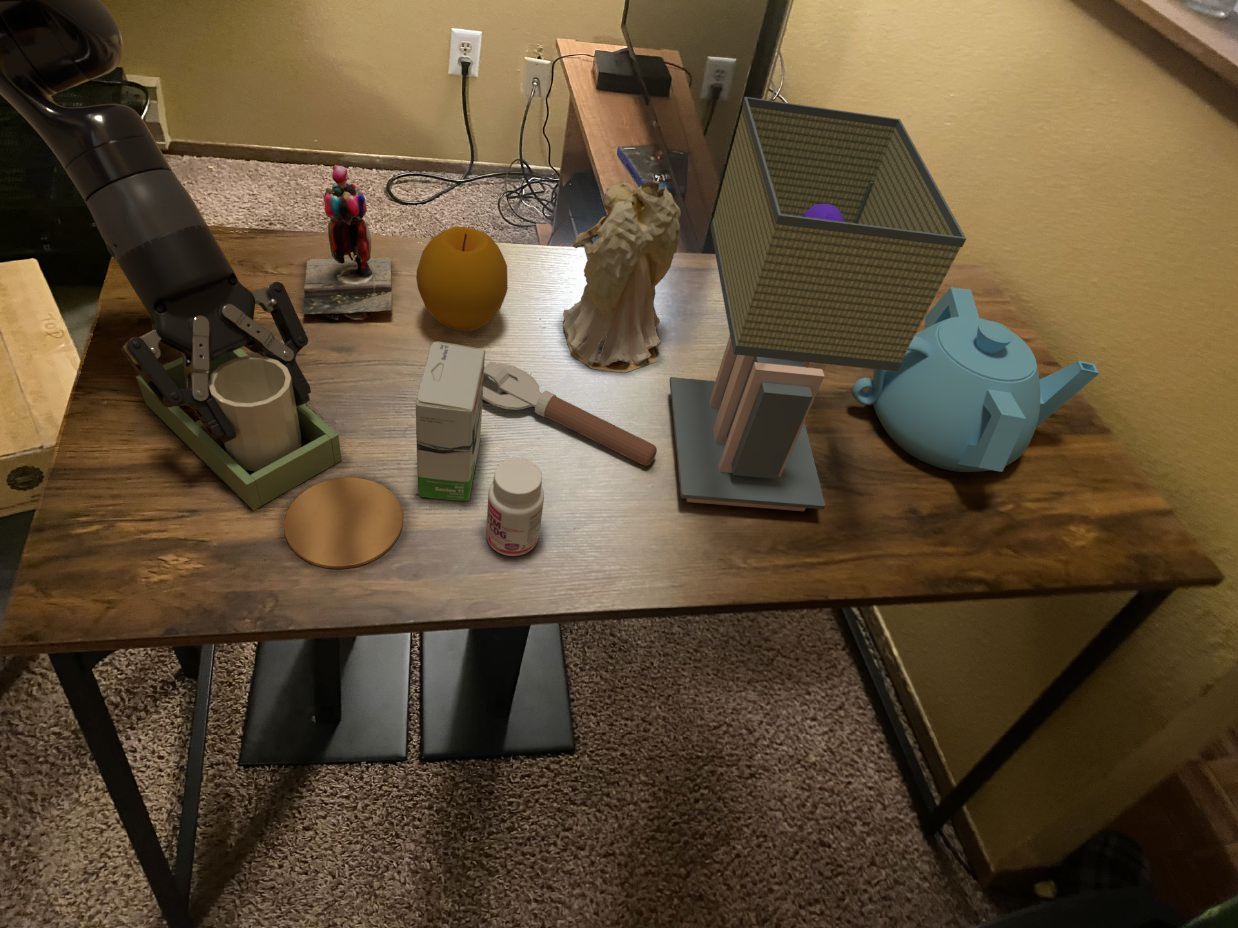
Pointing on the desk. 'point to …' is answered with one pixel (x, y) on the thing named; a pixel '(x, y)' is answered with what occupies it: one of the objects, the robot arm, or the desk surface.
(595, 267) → the figurine
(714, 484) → the desk lamp
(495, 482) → the pill bottle
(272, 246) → the desk surface
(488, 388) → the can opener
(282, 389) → the cup
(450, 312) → the apple
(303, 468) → the cup holder
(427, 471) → the ink box
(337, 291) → the statue
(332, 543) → the coaster
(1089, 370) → the teapot
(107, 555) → the desk surface
